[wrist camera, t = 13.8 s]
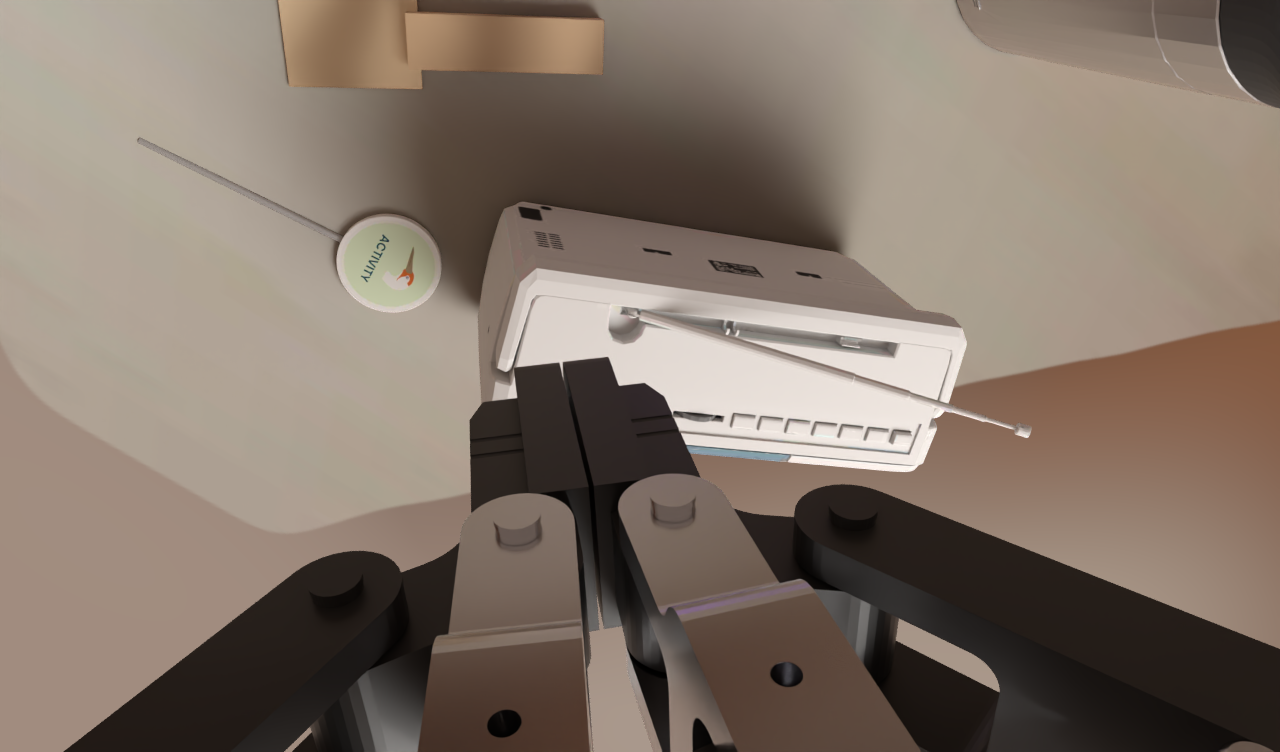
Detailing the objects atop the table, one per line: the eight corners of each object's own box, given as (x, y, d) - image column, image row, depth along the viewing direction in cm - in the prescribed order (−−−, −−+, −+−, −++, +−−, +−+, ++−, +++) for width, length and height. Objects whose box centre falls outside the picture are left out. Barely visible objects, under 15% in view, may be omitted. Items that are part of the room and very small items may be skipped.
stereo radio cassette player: (474, 324, 47) (483, 554, 29) (495, 177, 43) (520, 336, 26) (819, 366, 52) (1001, 581, 35) (862, 238, 49) (1087, 404, 31)
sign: (157, 90, 39) (459, 247, 44) (163, 87, 39) (459, 242, 45) (117, 189, 40) (413, 328, 46) (123, 184, 41) (414, 322, 46)
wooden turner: (600, -5, 41) (604, -3, 39) (597, 91, 43) (602, 96, 41) (277, -19, 38) (270, -17, 37) (290, 85, 40) (284, 89, 39)
